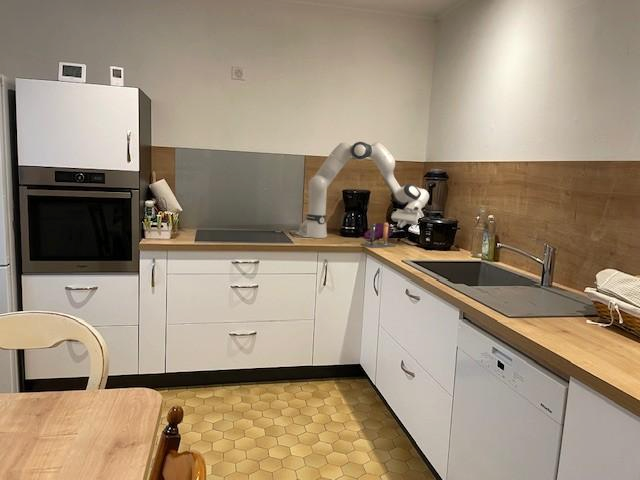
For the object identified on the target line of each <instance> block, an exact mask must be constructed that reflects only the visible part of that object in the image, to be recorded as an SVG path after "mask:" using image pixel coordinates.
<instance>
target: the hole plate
mask: <svg viewBox="0 0 640 480" xmlns="http://www.w3.org/2000/svg"><path fill="white" fill-rule="evenodd" d="M360 246H362V247H366V248H371V249H378V248H379V249H380V248H392V247H393V248H394V247H396V246H397V244H396V243H395V244H394V243H391V242H388V240H387V241H385V243H384V241H379V240H374V242H373V244H371V242H368V241H363V242H360Z"/></svg>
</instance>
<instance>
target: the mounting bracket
mask: <svg viewBox="0 0 640 480" xmlns="http://www.w3.org/2000/svg"><path fill="white" fill-rule="evenodd" d="M375 224H376V227H375V239H377V238H380V239H383V230H384V223H380V222H377V223H375ZM390 227H391V226H390V225H389V226H388V236H387V240H388V239H390V236H391V228H390ZM370 233H371V228H370V229H369V230H367V231H366V232H365V233H364V238H365V240H366V239H370ZM375 239H374V240H375Z"/></svg>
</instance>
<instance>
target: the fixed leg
mask: <svg viewBox="0 0 640 480" xmlns="http://www.w3.org/2000/svg"><path fill="white" fill-rule="evenodd" d="M376 224H377V223H375V222H372V223H371V224H370V229H371V233H370V239H366V238H365V242H367V241H368V242H371V244H373V242H374V241H375V227H376Z"/></svg>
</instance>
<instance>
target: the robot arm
mask: <svg viewBox="0 0 640 480" xmlns="http://www.w3.org/2000/svg"><path fill="white" fill-rule="evenodd" d="M366 158H368V159H371V160H372V162H373V163H374V164H375V165H376V167H377V168H378V170H379V172H380V174H381V175H382V178H383V180H384V182H385V183H386V185H387V187H388V188H389V189H390V191H391V193H392V195H393V199H394V201H395V202H396V203H397V204H399V205H405V204H406V206H405V207H404V208H403V209H401V208H400V209H397V210H396V211H395V212H394V213H393V214H392V215H391V220H392V221H393V222H395V223H396V222H397V224H396V226H397V228H401V229H402V228H403V227H404V226H406V225H407V224H408V225H414V226H417V225H418V224H419V223H418V219H419V218H420V217H425V215H424V213H423V211H422V209H423V208H424V207H425V206H426V204H427V203H428V201H429V199H430V194H429V192H428V191H427V190H426V189H424V188H419V187H418V186H416V185H415V184H413V183H411V182H408V183H406V184H405V185H403V186H401V185H400V184H399V183H398V181H397V179H396V178H395V175H394V170H395V168H396V161H395V157H393V155H392V154H391V152H390V151H389V150H388V149H387V148H386V147H385V146H384V145H383V143H381V142H379V141H378V142H374V143H372V144H369V143H366V142H364V141H356V142H355V143H353V145H349V144H348V143H346V142H340V143H339V144H338V145H336V147H335V148H334V149H333V150H332V151H331V152H330V154H329V155H328V156H327V158H326V159H325V161H324V162H323V163H322V164H321V166H320V167H319V169H318V170H317V171H316V173H315V175H313V176H312V177H311V178H310V179H309V182H308V183H309V184H308V210H307V211H308V213H307V214H306V215H305V217H306V218H305V220H304V221H303V222H302V223H301V224H300V225H299V227H298V231H295V232H294V234H295V235H297V236H300V237H303V238H314V239H315V238H316V239H318V238H319V239H323V238H324V239H325V238H327V237H328V234H327V222H326V221H327V215H326V214H327V213H326V211H327V194H328V193H327V191H328V188H329V186H330V185H331V183H332V182H333V181H334V179H335V178H336V177H337V175H338V174H339V172H340V171H341V170H342V169H343V167H344V165H346V163H347V162H348V160H350V159H355V160H357V161H364V160H366Z"/></svg>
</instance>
